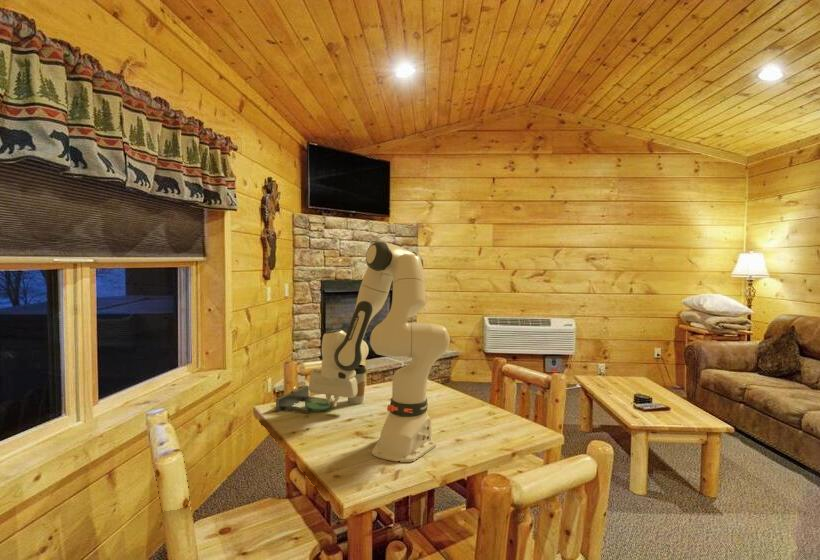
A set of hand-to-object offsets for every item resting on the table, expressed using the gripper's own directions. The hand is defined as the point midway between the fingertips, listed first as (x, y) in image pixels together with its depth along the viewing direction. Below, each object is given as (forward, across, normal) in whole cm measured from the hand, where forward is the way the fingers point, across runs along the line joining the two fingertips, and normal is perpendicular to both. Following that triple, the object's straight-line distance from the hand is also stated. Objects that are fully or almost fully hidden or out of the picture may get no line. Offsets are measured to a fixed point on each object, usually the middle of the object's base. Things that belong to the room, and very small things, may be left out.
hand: (332, 405), depth 178 cm
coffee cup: (+2, +4, +13) cm, 13 cm away
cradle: (+2, -13, 0) cm, 13 cm away
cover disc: (+2, -6, 0) cm, 7 cm away
